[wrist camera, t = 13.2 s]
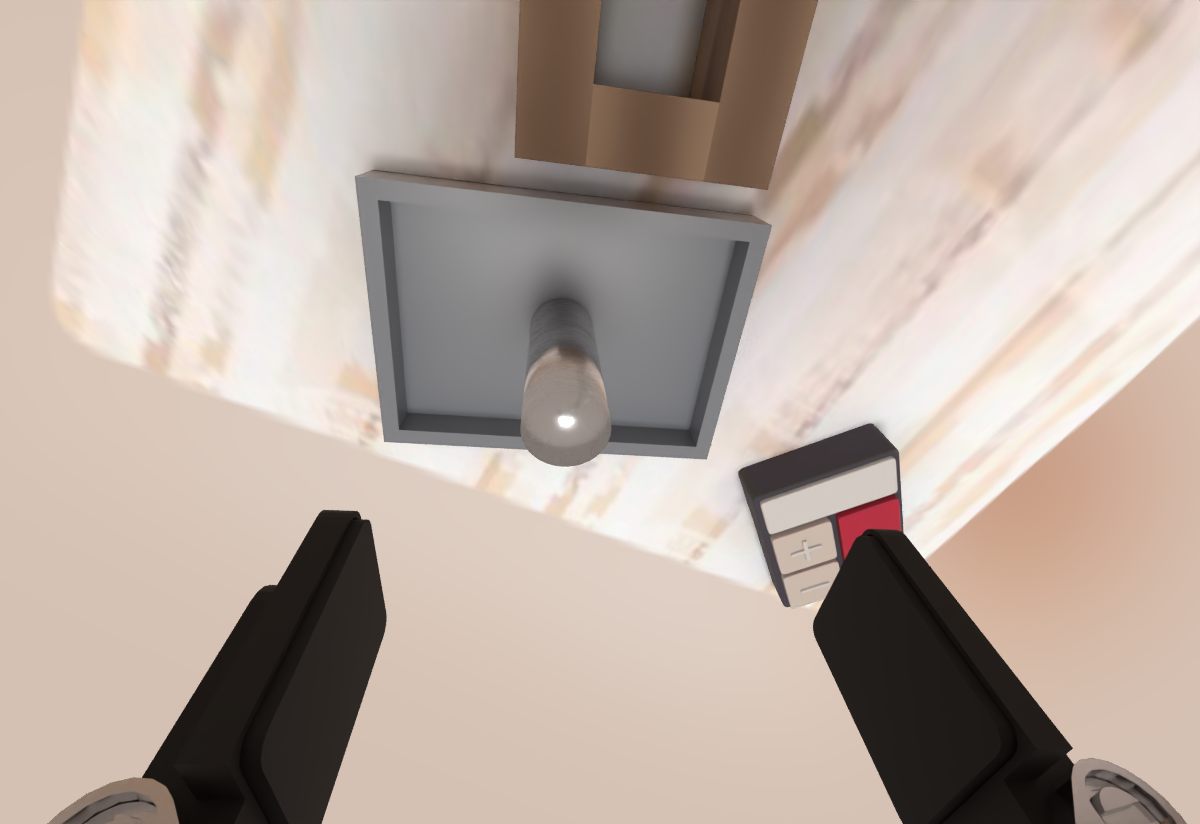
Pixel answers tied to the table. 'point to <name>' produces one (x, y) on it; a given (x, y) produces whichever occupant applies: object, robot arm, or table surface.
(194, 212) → the table surface
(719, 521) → the table surface
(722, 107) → the block
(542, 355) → the pin
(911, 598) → the robot arm
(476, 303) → the tray
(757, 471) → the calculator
